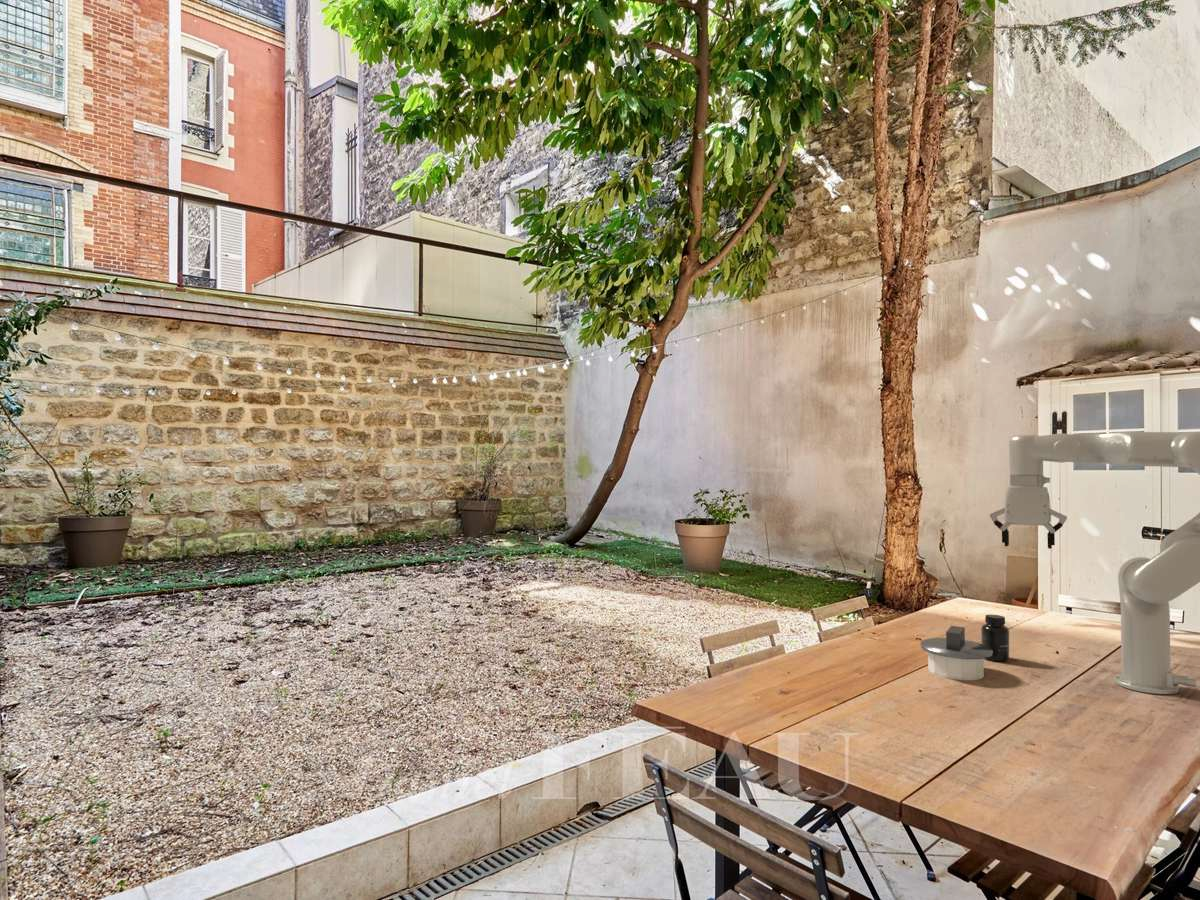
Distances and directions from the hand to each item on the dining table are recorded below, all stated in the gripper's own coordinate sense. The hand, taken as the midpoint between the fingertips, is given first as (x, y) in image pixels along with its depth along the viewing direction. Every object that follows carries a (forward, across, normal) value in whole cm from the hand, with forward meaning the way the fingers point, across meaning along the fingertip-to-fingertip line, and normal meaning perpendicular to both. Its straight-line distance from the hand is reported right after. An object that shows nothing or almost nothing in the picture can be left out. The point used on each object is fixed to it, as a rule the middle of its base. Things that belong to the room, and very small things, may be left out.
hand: (1028, 546), depth 181 cm
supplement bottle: (+33, +9, -9) cm, 36 cm away
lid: (+27, +16, +9) cm, 33 cm away
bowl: (+33, +16, +10) cm, 38 cm away
